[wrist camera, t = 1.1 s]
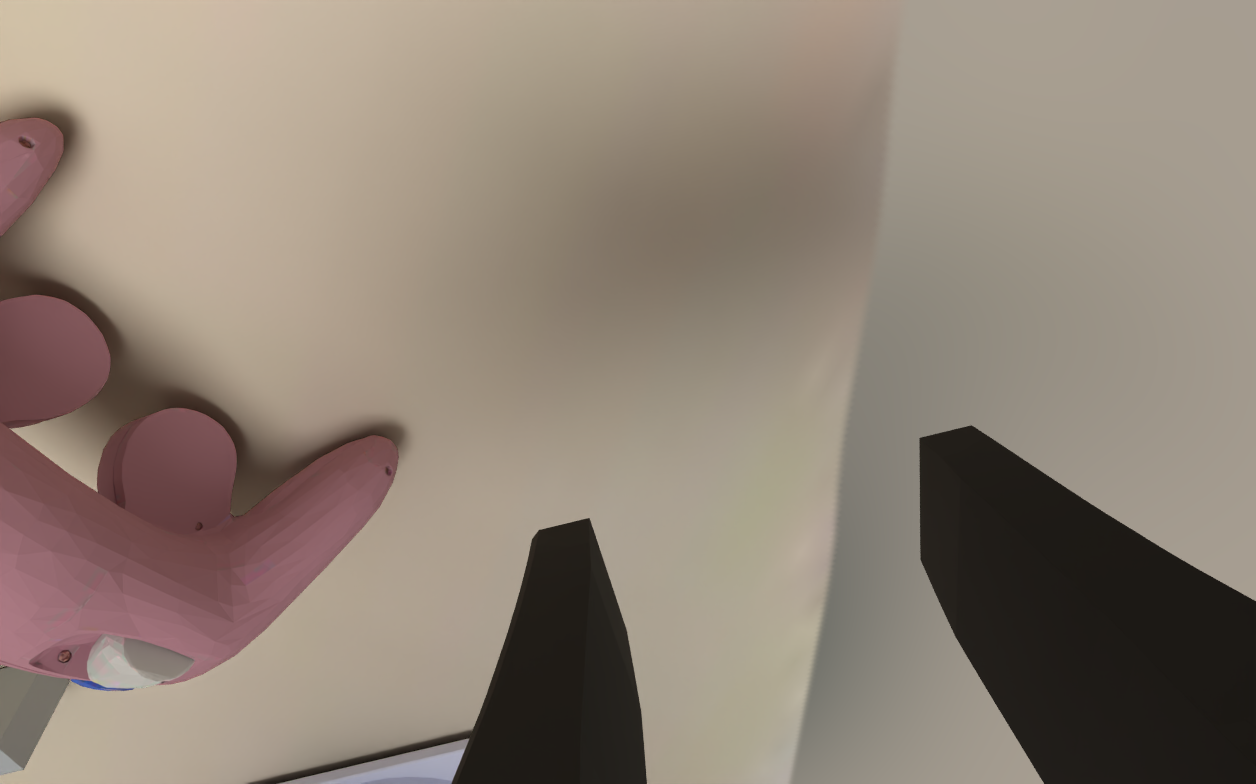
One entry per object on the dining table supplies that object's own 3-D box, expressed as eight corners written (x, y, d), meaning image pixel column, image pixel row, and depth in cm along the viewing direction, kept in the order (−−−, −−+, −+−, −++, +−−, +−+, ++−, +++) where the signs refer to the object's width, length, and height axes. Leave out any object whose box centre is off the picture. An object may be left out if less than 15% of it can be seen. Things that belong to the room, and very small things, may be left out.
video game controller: (-62, 167, 16) (-475, 445, 11) (33, 68, 13) (-450, 379, 9) (312, 481, 21) (132, 757, 17) (434, 455, 18) (259, 772, 14)
